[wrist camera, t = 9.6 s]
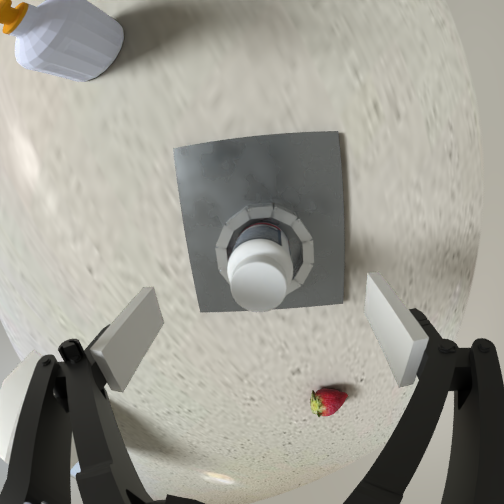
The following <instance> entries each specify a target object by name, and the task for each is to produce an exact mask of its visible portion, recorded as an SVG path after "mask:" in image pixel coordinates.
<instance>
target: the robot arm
mask: <svg viewBox="0 0 504 504" xmlns="http://www.w3.org/2000/svg"><path fill="white" fill-rule="evenodd" d="M364 313H365V315H366V317H367V319H368V321H369V323H370V325H371V327H372V329H373V331H374V334H375V336H376V338H377V340H378V342H379V344H380V346H381V348H382V350H383V353H384V355H385V357H386V359H387V361H388V364H389V366H390V368H391V370H392V373H393V375H394V377H395V380H396V382H397V384H398V387H403V386H407V385H411V384H413V383H414V381H415V378H416V375H417V377H418V379H419V382H418V384H417V386H416V388H415V391H414V393H413V395H412V397H411V399H410V401H409V403H408V405H407V407H406V409H405V411H404V413H403V415H402V417H401V419H400V421H399V423H398V425H397V426H396V428H395V430H394V432H393V434H392V435H391V437H390V439H389V440H388V442H387V444H386V446H385V447H384V449H383V450H382V452H381V453H380V455H379V456H378V458H377V460H376V461H375V463H374V464H373V466H372V467H371V468H370V470H369V471H368V473H367V474H366V476H365V477H364V478H363V480H362V481H361V482H360V483H359V484H358V486H357V487H356V488H355V489H354V491H353V492H352V493H351V495H350V496H349V497H348V498H347V499H346V501H345V502H344V503H343V504H400V502H401V500H402V498H403V493H404V491H405V489H406V487H407V486H408V484H409V482H410V480H411V479H412V477H413V475H414V473H415V471H416V469H417V467H418V465H419V463H420V461H421V459H422V457H423V455H424V453H425V451H426V448H427V447H428V444H429V442H430V440H431V438H432V435H433V433H434V430H435V428H436V425H437V423H438V420H439V417H440V415H441V412H442V409H443V406H444V403H445V400H446V397H447V394H448V391H454V421H453V435H452V436H453V437H452V445H451V454H450V461H449V468H448V474H447V480H446V484H445V489H444V494H443V498H442V502H441V504H504V384H503V379H502V374H501V369H500V364H499V360H498V356H497V352H496V348H495V346H494V344H493V343H492V342H491V341H489V340H487V339H483V338H481V339H476V340H475V341H474V342H473V344H472V347H471V348H458V346H457V344H456V343H455V342H453V341H451V340H449V339H442V337H441V336H440V335H439V333H438V332H437V331H436V329H435V328H434V327H433V325H432V324H431V323H430V321H429V320H427V318H426V316H425V315H424V314H423V313H422V312H421V311H419V310H417V309H416V308H414V309H408V308H407V307H406V305H405V304H404V303H403V301H402V300H401V299H400V297H399V296H398V295H397V294H396V292H395V291H394V290H393V288H392V287H391V286H390V285H389V283H388V282H387V281H386V280H385V278H384V277H383V276H382V275H381V273H380V272H371V273H367V286H366V298H365V308H364ZM163 324H164V320H163V317H162V314H161V310H160V307H159V304H158V300H157V297H156V293H155V289H154V287H143V288H142V289H141V291H140V292H139V293H138V294H137V295H136V296H135V297H134V298H133V299H132V301H131V302H130V303H129V304H128V305H127V306H126V307H125V308H124V310H123V311H122V312H121V313H120V314H119V315H118V316H117V318H116V319H115V320H114V321H113V322H112V323H111V324H109V325H108V326H106V327H105V328H103V329H102V330H101V332H100V333H99V334H98V335H97V336H96V337H95V340H93V341H92V342H91V343H90V344H89V346H88V347H87V348H86V349H85V350H83V348H82V346H81V344H80V342H79V340H77V339H69V340H67V341H65V342H63V343H62V344H61V345H60V346H59V348H58V351H59V353H60V354H61V356H62V358H63V360H64V362H57V360H56V358H55V356H54V355H45V356H43V357H41V359H39V360H38V362H37V364H36V367H35V369H34V372H33V375H32V378H31V380H30V383H29V386H28V389H27V392H26V395H25V398H24V402H23V405H22V408H21V412H20V415H19V419H18V423H17V427H16V431H15V435H14V440H13V445H12V450H11V455H10V461H9V468H8V475H7V480H6V482H5V484H4V487H3V490H2V492H1V494H0V504H71V491H70V461H71V442H72V432H73V437H74V443H75V447H76V452H77V456H78V461H79V465H80V468H81V472H80V473H77V474H76V481H77V484H78V487H79V491H80V494H81V498H82V501H83V504H205V503H202V502H199V501H197V500H193V499H188V498H182V497H177V496H172V495H168V494H167V497H166V500H157V501H153V499H152V498H151V497H150V496H149V495H148V493H147V492H146V490H145V489H144V487H143V485H142V483H141V481H140V479H139V477H138V474H137V472H136V470H135V468H134V466H133V463H132V461H131V459H130V457H129V454H128V452H127V449H126V447H125V444H124V442H123V439H122V437H121V434H120V431H119V429H118V426H117V423H116V420H115V417H114V414H113V411H112V408H111V405H110V401H109V398H108V395H107V391H106V390H105V388H104V386H105V384H106V383H108V385H109V387H110V388H111V390H113V391H118V392H124V390H125V388H126V387H127V385H128V383H129V381H130V380H131V378H132V376H133V374H134V373H135V371H136V369H137V368H138V366H139V364H140V362H141V361H142V359H143V357H144V356H145V354H146V352H147V351H148V349H149V347H150V346H151V344H152V342H153V341H154V339H155V337H156V336H157V334H158V332H159V331H160V329H161V327H162V326H163Z"/></svg>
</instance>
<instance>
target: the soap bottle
mask: <svg viewBox="0 0 504 504" xmlns="http://www.w3.org/2000/svg"><path fill="white" fill-rule="evenodd" d="M11 4H12V1H11V0H0V23H2V24H4V27H3V33H5V34H8V35H12V36H16V37H17V38H16V43H15V56H16V60H17V62H18V63H19V64H20V65H21V66H23V67H24V68H26V69H29V70H34V71H38V72H43V73H47V74H51V75H55V76H59V77H63V78H66V79H70V80H73V81H88V80H90V79H93V78H95V77H97V76H98V75H100V74H101V73H102V72H104V71H105V70H106V69H107V68H108V67H109V66H110V65H111V64H112V62H113V61H114V60H115V58H116V57H117V55H118V53H119V51H120V50H121V47H122V43H123V40H124V34H123V28H122V27H121V25H120V24H119V22H117V21H116V20H114V19H113V18H112V17H110V16H109V15H107V14H106V13H105V12H103V11H102V10H100V9H99V8H97V7H96V6H94V5H93V4H91V3H90V2H88V1H87V0H45V1H44V2H43V3H41V4H40V5H38V6H37V7H35V6H33V5H30V4H27V3H24V2H22V3H20V4H19V5H18V6H17V7H16V8H12V7H11Z"/></svg>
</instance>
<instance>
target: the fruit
mask: <svg viewBox="0 0 504 504" xmlns="http://www.w3.org/2000/svg"><path fill="white" fill-rule="evenodd" d="M347 397H348V395H347V393H345V392H341V391H338V390H335V389H327V388H325V389H320V390H318V391H317V392H316V393H315V392H314V391H312V395H311V399H310V405H311V410H312V413H313V414H317V415H318V417H319V416H330V415H332V414H334V413H335V412H336V411H338V409H339V408H340V407H341V406H342V405H343V403H344V402H345V399H346V398H347Z"/></svg>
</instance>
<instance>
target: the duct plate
mask: <svg viewBox="0 0 504 504" xmlns="http://www.w3.org/2000/svg"><path fill="white" fill-rule="evenodd" d="M173 151H174V160H175V168H176V176H177V183H178V191H179V198H180V204H181V211H182V217H183V224H184V230H185V236H186V241H187V247H188V253H189V258H190V263H191V269H192V274H193V279H194V284H195V289H196V294H197V298H198V303H199V308H200V312H230V311H249V310H247V309H245V308H243V307H241V306H240V305H239V304H238V303H237V302H236V301H235V299H234V298H233V296H232V293H231V289H230V281H229V278H228V273H227V266H228V261H229V258H230V256H231V253H232V251H233V248H234V246H235V244H236V241H237V239H238V237H239V235H240V233H241V232H242V231H243V230H244V229H245V228H246V227H248V226H249V225H251V224H254V223H258V222H267V223H271V224H274V225H276V226H277V227H279V228H280V229H281V230H282V231H283V232H284V233H285V235H286V236H287V238H288V241H289V245H290V251H291V257H292V262H293V278H292V281H291V283H290V285H289V287H288V288H287V293H286V296H285V298H284V300H283V301H282V302H281V304H280V305H278V306H277V307H276V308H274V309H286V308H299V307H311V306H322V305H333V304H343V295H344V255H345V241H344V201H343V182H342V167H341V155H340V144H339V134H338V131H327V132H301V133H285V134H272V135H261V136H252V137H243V138H235V139H227V140H220V141H213V142H207V143H201V144H195V145H190V146H184V147H179V148H174V149H173Z"/></svg>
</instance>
